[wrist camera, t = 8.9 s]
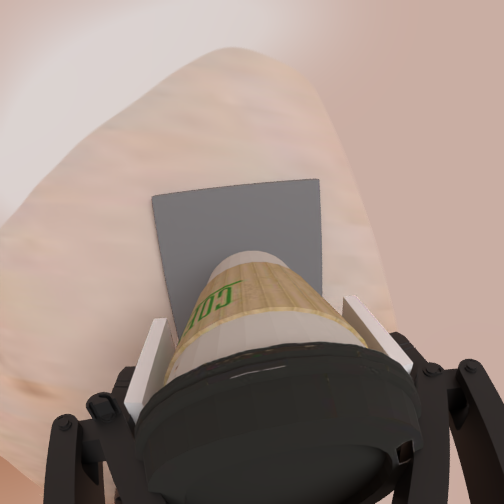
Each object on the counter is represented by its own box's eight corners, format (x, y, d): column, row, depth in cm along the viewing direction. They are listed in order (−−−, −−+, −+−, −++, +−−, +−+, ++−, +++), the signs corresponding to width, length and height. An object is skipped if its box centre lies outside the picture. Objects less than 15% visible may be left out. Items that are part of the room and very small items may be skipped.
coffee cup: (153, 264, 20) (54, 451, 5) (287, 197, 19) (437, 310, 5) (222, 368, 23) (229, 550, 8) (338, 316, 22) (438, 478, 8)
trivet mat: (180, 336, 29) (179, 342, 28) (154, 195, 25) (151, 197, 24) (318, 320, 30) (321, 325, 29) (315, 178, 26) (319, 179, 25)
